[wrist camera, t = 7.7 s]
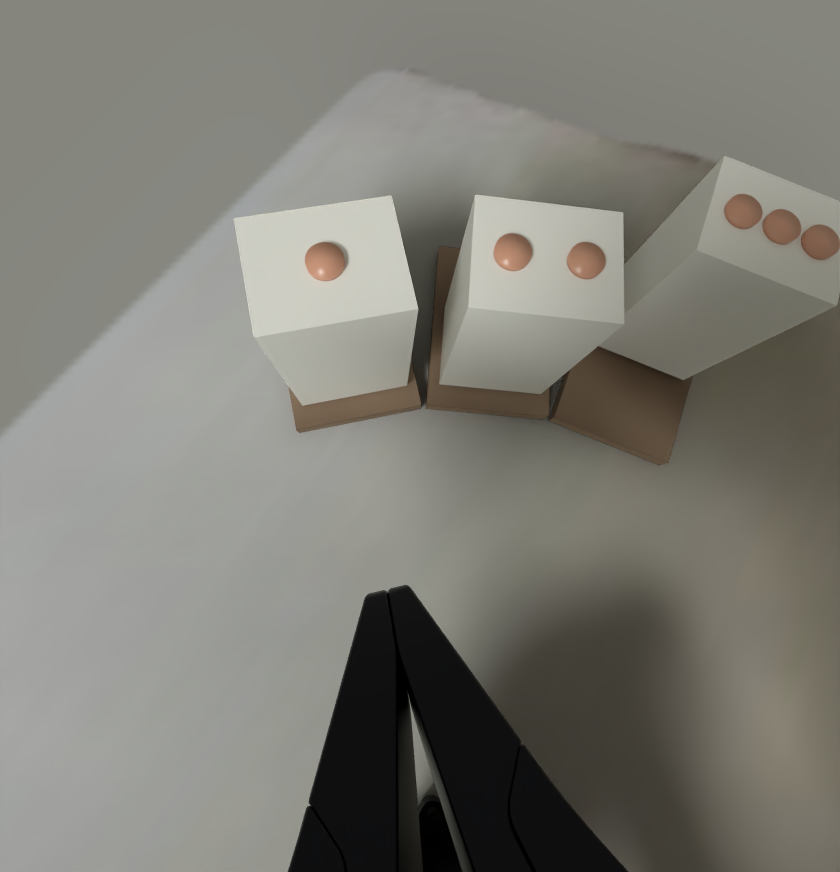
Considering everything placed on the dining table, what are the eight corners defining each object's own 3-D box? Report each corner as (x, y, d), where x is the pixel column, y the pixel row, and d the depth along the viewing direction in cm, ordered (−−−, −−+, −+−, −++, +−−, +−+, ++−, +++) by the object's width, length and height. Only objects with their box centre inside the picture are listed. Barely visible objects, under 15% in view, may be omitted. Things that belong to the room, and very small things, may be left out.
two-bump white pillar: (540, 394, 22) (627, 321, 14) (439, 384, 22) (469, 304, 14) (542, 317, 23) (626, 208, 15) (444, 307, 23) (476, 190, 15)
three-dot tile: (683, 380, 23) (842, 303, 15) (590, 343, 23) (700, 246, 15) (702, 312, 24) (863, 204, 16) (613, 276, 24) (728, 150, 16)
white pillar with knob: (407, 385, 22) (418, 305, 14) (302, 405, 21) (251, 334, 13) (389, 309, 23) (391, 190, 15) (288, 327, 22) (231, 213, 14)
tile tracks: (714, 328, 25) (725, 321, 24) (606, 595, 22) (614, 597, 21) (356, 145, 25) (355, 133, 25) (200, 380, 22) (194, 375, 21)
